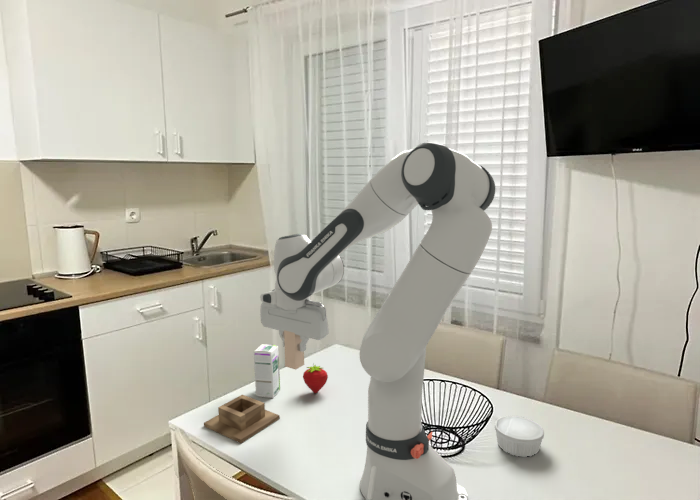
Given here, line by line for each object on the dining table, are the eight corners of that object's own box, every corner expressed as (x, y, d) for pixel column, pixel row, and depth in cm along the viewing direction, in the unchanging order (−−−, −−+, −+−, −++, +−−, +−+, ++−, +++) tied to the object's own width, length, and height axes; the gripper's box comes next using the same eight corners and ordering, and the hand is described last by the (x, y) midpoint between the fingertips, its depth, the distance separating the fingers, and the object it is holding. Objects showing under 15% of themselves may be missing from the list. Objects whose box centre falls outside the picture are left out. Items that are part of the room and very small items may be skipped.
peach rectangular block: (304, 364, 123) (303, 320, 121) (295, 369, 121) (294, 324, 119) (294, 361, 125) (292, 318, 123) (285, 366, 123) (283, 322, 120)
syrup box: (273, 398, 139) (272, 352, 137) (255, 396, 140) (253, 350, 138) (280, 389, 145) (279, 344, 142) (262, 387, 146) (260, 343, 143)
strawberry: (326, 398, 139) (326, 366, 137) (301, 397, 140) (300, 365, 138) (329, 389, 145) (329, 358, 143) (305, 387, 146) (304, 357, 144)
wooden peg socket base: (279, 418, 128) (279, 401, 127) (241, 443, 116) (240, 424, 116) (243, 404, 136) (242, 388, 135) (203, 426, 124) (202, 408, 123)
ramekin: (486, 435, 120) (487, 415, 119) (529, 432, 121) (530, 413, 120) (505, 462, 109) (506, 441, 108) (551, 459, 110) (552, 438, 109)
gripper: (333, 300, 117) (334, 353, 119) (272, 289, 128) (274, 337, 130) (317, 306, 112) (318, 361, 114) (255, 294, 123) (257, 344, 125)
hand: (294, 348), depth 122 cm, fingers closed on peach rectangular block, 3 cm apart
